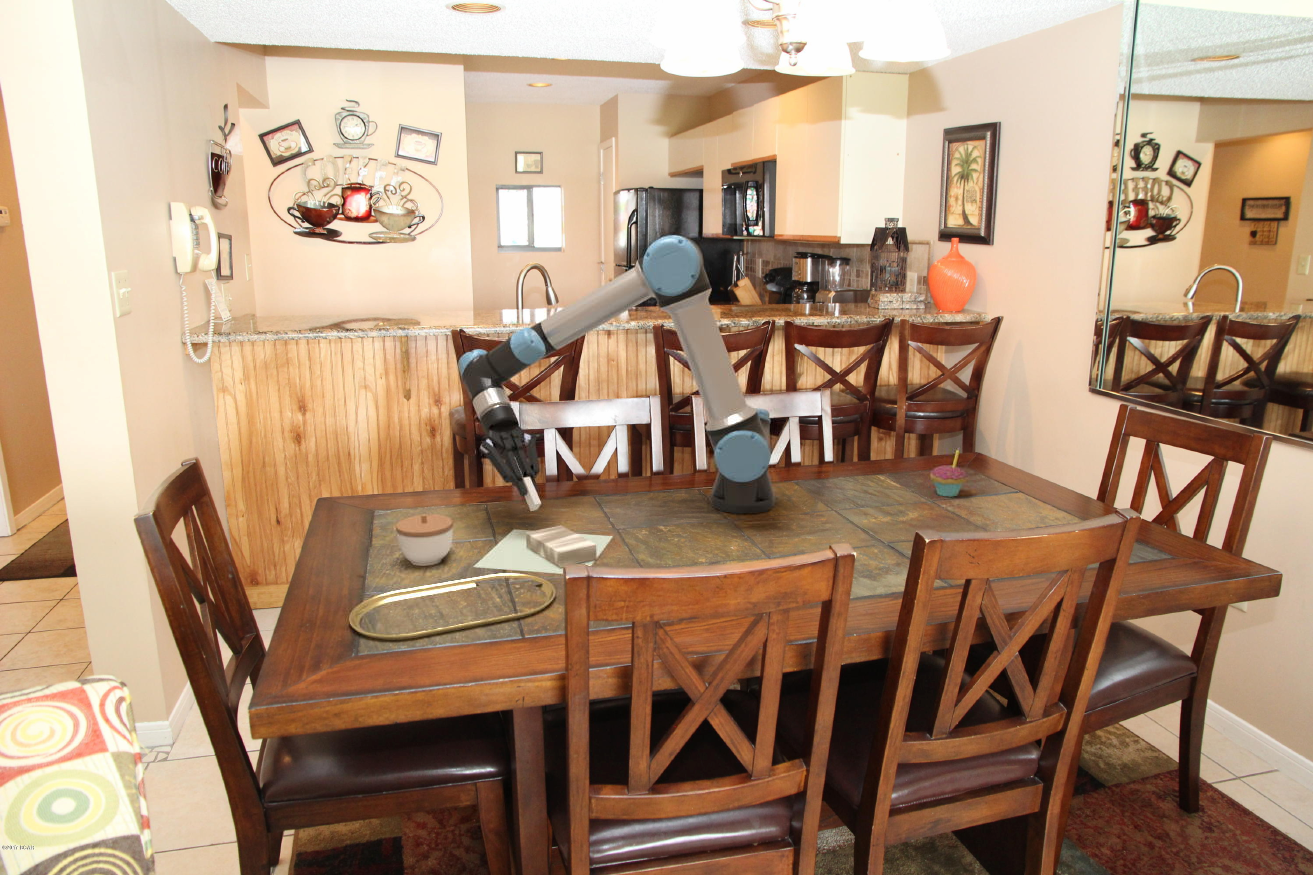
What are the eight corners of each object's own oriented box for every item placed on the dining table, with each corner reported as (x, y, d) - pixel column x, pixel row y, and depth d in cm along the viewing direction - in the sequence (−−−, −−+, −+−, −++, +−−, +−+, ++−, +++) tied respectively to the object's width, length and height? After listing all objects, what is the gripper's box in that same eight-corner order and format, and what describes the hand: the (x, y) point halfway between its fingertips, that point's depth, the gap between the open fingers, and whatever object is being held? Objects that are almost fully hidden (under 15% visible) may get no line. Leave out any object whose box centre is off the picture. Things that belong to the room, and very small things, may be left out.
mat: (613, 538, 188) (613, 536, 188) (583, 578, 167) (583, 575, 167) (513, 532, 192) (513, 529, 192) (473, 569, 171) (473, 566, 171)
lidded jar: (405, 574, 169) (401, 527, 167) (393, 556, 179) (390, 511, 176) (461, 564, 174) (458, 518, 172) (446, 547, 183) (444, 503, 181)
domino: (525, 532, 181) (560, 552, 169) (560, 525, 185) (596, 544, 174) (526, 547, 181) (560, 568, 170) (561, 539, 186) (596, 559, 175)
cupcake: (969, 492, 220) (973, 445, 217) (960, 501, 213) (964, 452, 210) (934, 487, 224) (937, 440, 221) (924, 495, 217) (927, 447, 214)
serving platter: (570, 612, 153) (570, 603, 153) (357, 653, 139) (357, 644, 139) (536, 574, 170) (536, 567, 170) (343, 608, 155) (342, 599, 155)
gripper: (517, 420, 200) (557, 510, 190) (463, 427, 192) (501, 522, 183) (528, 400, 194) (569, 492, 185) (472, 407, 187) (513, 503, 178)
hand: (535, 507), depth 184 cm, fingers closed
